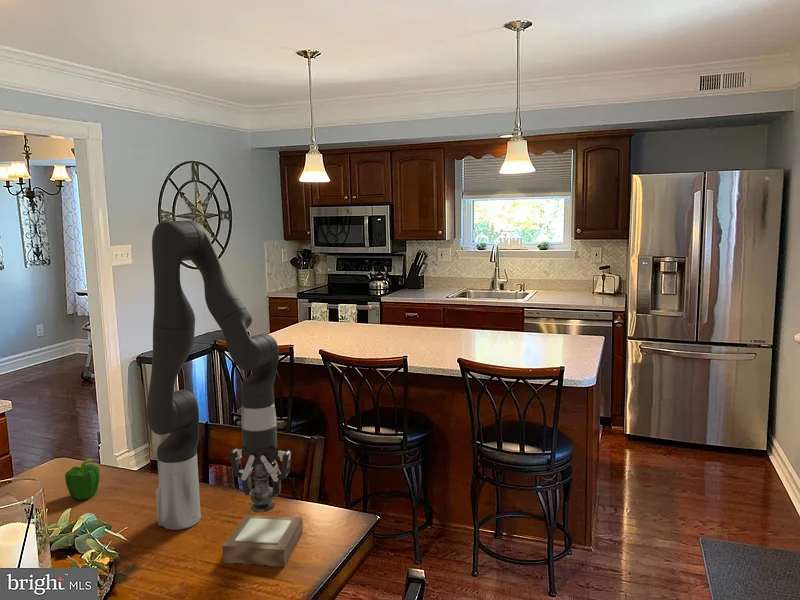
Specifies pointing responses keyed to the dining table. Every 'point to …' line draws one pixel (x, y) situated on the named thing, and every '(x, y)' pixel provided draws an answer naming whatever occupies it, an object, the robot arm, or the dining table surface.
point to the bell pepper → (83, 480)
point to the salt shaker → (261, 491)
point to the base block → (263, 540)
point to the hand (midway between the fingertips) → (262, 494)
